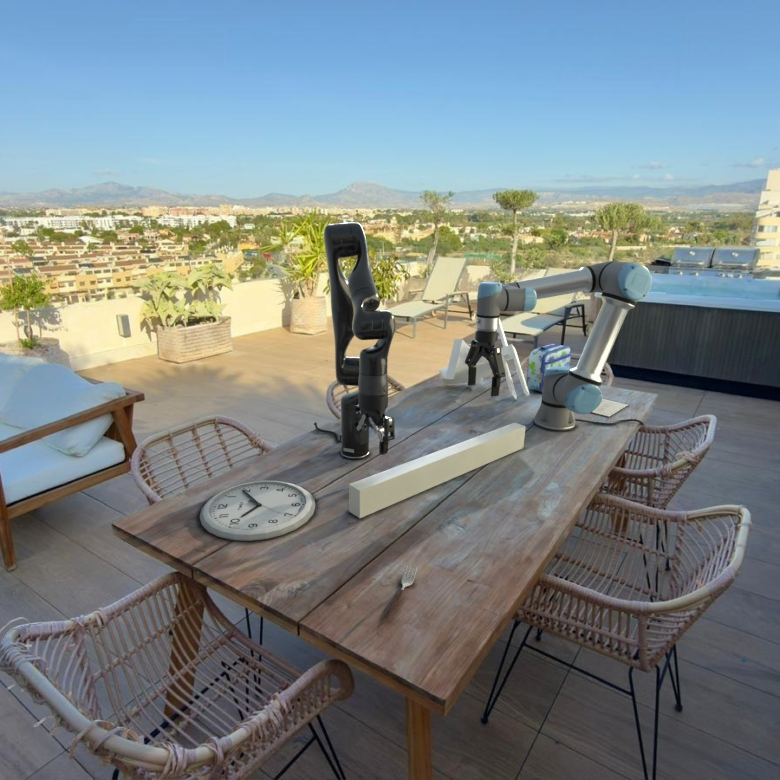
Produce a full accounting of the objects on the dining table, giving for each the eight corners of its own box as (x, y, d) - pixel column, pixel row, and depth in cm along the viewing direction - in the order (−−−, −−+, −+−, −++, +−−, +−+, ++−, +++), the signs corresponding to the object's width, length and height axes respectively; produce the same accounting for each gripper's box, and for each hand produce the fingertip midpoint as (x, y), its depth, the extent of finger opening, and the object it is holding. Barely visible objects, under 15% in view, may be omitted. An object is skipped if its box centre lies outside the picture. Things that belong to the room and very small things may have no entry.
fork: (380, 619, 101) (380, 610, 101) (406, 571, 116) (406, 563, 115) (393, 622, 101) (393, 614, 100) (417, 574, 115) (417, 566, 114)
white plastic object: (461, 429, 252) (437, 405, 227) (444, 352, 274) (420, 323, 250) (535, 404, 240) (518, 377, 215) (510, 326, 262) (492, 293, 237)
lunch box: (542, 396, 239) (547, 351, 232) (522, 391, 246) (526, 347, 240) (570, 385, 256) (575, 343, 250) (550, 380, 263) (554, 339, 257)
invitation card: (608, 416, 214) (573, 407, 224) (608, 416, 214) (573, 408, 224) (628, 404, 229) (594, 396, 238) (628, 405, 229) (594, 397, 238)
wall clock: (312, 532, 127) (184, 536, 124) (312, 538, 127) (185, 542, 125) (317, 476, 155) (214, 478, 153) (318, 481, 156) (214, 483, 153)
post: (512, 443, 186) (514, 422, 183) (523, 448, 182) (525, 426, 180) (348, 511, 140) (348, 484, 138) (359, 518, 137) (359, 490, 134)
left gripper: (344, 385, 135) (345, 443, 140) (380, 399, 125) (379, 461, 129) (367, 380, 140) (366, 437, 144) (403, 393, 129) (401, 453, 134)
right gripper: (457, 324, 183) (454, 382, 190) (500, 337, 162) (495, 402, 168) (474, 322, 186) (471, 379, 193) (520, 335, 165) (514, 399, 171)
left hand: (372, 448), depth 137 cm, fingers open, 8 cm apart
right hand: (482, 390), depth 180 cm, fingers open, 13 cm apart
